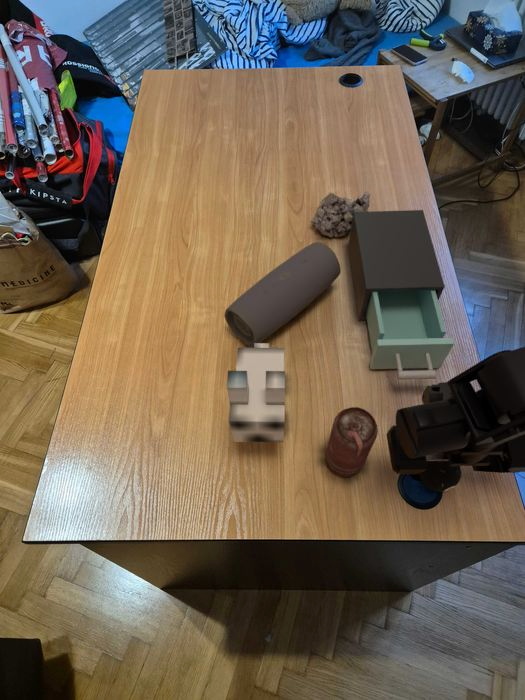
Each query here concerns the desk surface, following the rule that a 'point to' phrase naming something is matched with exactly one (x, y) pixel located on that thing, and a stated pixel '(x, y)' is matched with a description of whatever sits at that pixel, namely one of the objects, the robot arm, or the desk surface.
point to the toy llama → (257, 395)
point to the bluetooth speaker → (282, 293)
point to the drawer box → (391, 255)
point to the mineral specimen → (338, 214)
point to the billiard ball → (440, 475)
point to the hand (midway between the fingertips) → (442, 468)
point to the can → (350, 441)
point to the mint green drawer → (407, 332)
